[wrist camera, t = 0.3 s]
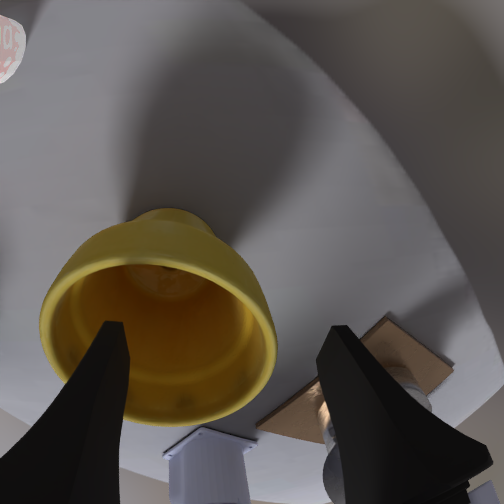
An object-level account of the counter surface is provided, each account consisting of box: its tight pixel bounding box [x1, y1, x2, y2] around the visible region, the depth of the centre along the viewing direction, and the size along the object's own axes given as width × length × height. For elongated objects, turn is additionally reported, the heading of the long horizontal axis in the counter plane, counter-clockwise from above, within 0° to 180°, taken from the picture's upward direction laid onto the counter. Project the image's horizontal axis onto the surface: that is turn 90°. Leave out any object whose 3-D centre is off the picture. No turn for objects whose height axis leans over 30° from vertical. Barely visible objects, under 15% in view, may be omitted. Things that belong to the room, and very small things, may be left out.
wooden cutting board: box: [256, 316, 454, 454], centre depth 30 cm, size 18×20×5 cm
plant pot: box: [39, 208, 278, 427], centre depth 16 cm, size 10×10×10 cm
